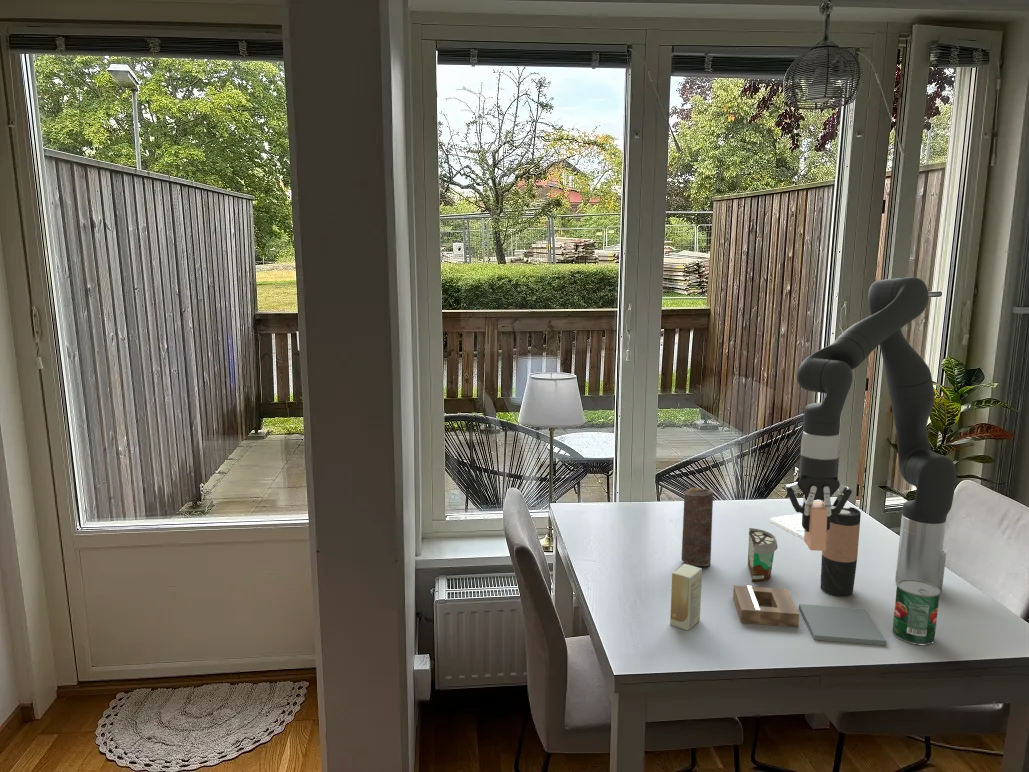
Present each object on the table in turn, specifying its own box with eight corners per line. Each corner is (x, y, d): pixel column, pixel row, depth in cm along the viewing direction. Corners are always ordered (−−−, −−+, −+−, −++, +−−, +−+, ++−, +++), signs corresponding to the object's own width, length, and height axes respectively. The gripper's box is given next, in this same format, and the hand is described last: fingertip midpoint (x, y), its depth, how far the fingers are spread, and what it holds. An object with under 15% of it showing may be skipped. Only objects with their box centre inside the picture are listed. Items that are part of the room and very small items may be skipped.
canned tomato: (884, 627, 156) (889, 579, 154) (919, 625, 156) (924, 578, 155) (906, 646, 148) (911, 596, 146) (943, 645, 149) (949, 595, 147)
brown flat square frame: (786, 601, 167) (787, 587, 167) (798, 627, 156) (799, 612, 155) (733, 597, 169) (733, 584, 169) (740, 622, 158) (741, 608, 157)
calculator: (804, 517, 223) (805, 511, 223) (853, 541, 204) (853, 535, 204) (768, 522, 219) (768, 516, 219) (814, 547, 200) (814, 540, 200)
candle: (698, 572, 183) (701, 496, 179) (674, 563, 188) (678, 489, 185) (716, 564, 187) (720, 490, 184) (692, 555, 193) (696, 483, 190)
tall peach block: (818, 541, 159) (820, 501, 158) (825, 550, 153) (827, 509, 152) (804, 540, 159) (805, 500, 158) (810, 550, 153) (812, 508, 152)
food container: (779, 586, 175) (781, 547, 173) (752, 584, 176) (754, 545, 174) (771, 565, 187) (774, 528, 185) (746, 563, 188) (749, 527, 186)
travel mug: (833, 599, 169) (840, 517, 165) (812, 585, 176) (818, 506, 172) (861, 595, 171) (868, 514, 167) (839, 581, 178) (845, 503, 174)
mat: (864, 612, 162) (864, 608, 162) (885, 645, 148) (886, 640, 148) (798, 608, 164) (799, 603, 164) (813, 639, 151) (814, 635, 150)
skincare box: (682, 614, 161) (684, 562, 159) (700, 620, 159) (703, 567, 156) (668, 625, 156) (671, 572, 154) (687, 631, 154) (689, 577, 152)
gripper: (850, 449, 155) (845, 526, 158) (781, 447, 158) (777, 523, 161) (860, 459, 148) (854, 539, 151) (788, 456, 150) (784, 536, 153)
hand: (815, 530), depth 156 cm, fingers closed on tall peach block, 2 cm apart
